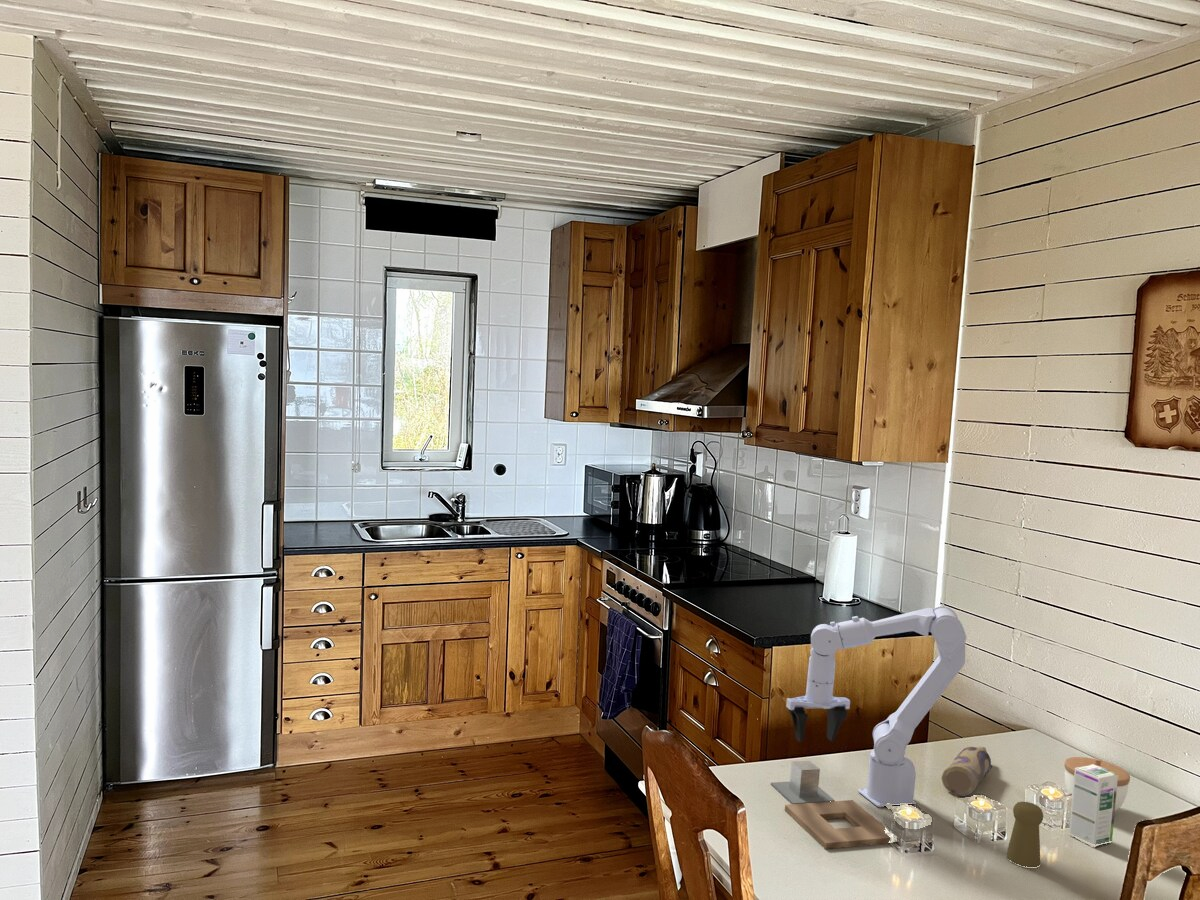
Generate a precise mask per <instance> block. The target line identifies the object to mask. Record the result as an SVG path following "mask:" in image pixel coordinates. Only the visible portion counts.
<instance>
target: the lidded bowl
mask: <svg viewBox="0 0 1200 900" xmlns="http://www.w3.org/2000/svg"><path fill="white" fill-rule="evenodd" d="M1092 764H1093V765H1096V766H1100V767H1102V768H1105V769H1108V770H1110V771H1112V772H1114V773H1116V774H1117V775H1118V780H1117V792H1116V803H1115V811H1117V810H1119V809H1120V808H1121V807H1122V806H1123V804H1124V803H1125V800H1126V799H1127V795H1128V791H1129V785H1130V780H1131V776H1130V774H1129V772H1127V770H1125V769H1124V768H1122V767H1120V766H1118V765H1116V764H1114V763H1111V762H1108V761H1105V760H1101V759H1099V758H1092V757H1085V756H1082V757H1081V756H1074V757H1072V756H1071V757H1069V758H1066V759H1065V761H1064V773H1063V774H1064V777H1063V778H1064V787H1065V791H1066V793H1067V794H1068V793H1072V794H1073V783H1074V772H1075V768H1077V767H1078V768H1079V767H1084V766H1089V765H1092Z"/></svg>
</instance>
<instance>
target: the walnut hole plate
mask: <svg viewBox="0 0 1200 900" xmlns="http://www.w3.org/2000/svg"><path fill="white" fill-rule="evenodd" d="M784 811H785V812H786V813H787V814H788V815H789V816H790V817H791V818H792V819H793V820H794V821H795V822H796V823H797V824H798V825H799V826H800V827H801V828H802V829H804V831H805V832H806V833H808V835H810V836H811V837H812V838H813V839H814V840H815V841H816V842H817V843H818V844H819V845H820V844H821V845H822V846H823V847H824V848H823V847H822V848H823V849H824V850H831V849H830V848H833V849H841V847H845V848H852V847H851V846H856V847H863V846H862V845H867V846H872V845H871V844H879V845H886V844H885V843H888V842H889V840H890V837H889V836H888V835H887V834H885V831H884V830H885V827H886V826H885V825H884V824H883V823H882V822H880V821H879V820H878V819H877V818H876V817H874V816H873V815H871V813H869V812H868V811H867V810H866V809H865V808H863V807H862V806H860V805H859V804H858V803H857V802H856V801H854V799H850V800H849V799H848V800H837V801H836V800H835V801H832V802H817V803H803V804H791V803H790V804H784ZM833 818H840V819H845V820H846V819H847V820H848V821H849V822H850V825H852V826H851V827H850V826H849V827H840V828H839V827H838V828H836V827H834V826H833V825H832V824H831V823H829V822H828V821H827V820H834V819H833ZM825 819H827V820H825ZM847 820H846V821H847ZM848 821H847V822H848ZM849 822H848V823H849ZM860 845H861V846H860Z"/></svg>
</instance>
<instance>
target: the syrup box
mask: <svg viewBox="0 0 1200 900" xmlns="http://www.w3.org/2000/svg"><path fill="white" fill-rule="evenodd" d="M1117 780H1118V775H1117V774H1116V773H1114V772H1112V771H1110V770H1108V769H1105V768H1102V767H1100V766H1096V765H1093V764H1092V765H1089V766H1084V767H1079V768H1078V767H1077V768H1075V772H1074V783H1073V794H1072V800H1071V808H1070V819H1069V830H1068V834H1069V833H1071V834H1073V835H1074V836H1077V837H1079V838H1081V839H1083V840H1085V841H1087V842H1090V843H1092V844H1095V845H1096V844H1101V843H1105V842H1109V841H1112V842H1113V836H1114V835H1113V834H1114V821H1115V813H1116V812H1115V803H1116V792H1117Z"/></svg>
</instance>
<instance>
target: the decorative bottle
mask: <svg viewBox="0 0 1200 900" xmlns="http://www.w3.org/2000/svg"><path fill="white" fill-rule="evenodd" d="M992 768H993V765H992V761H991V756H990V755H989V753H988V751H987V748H986V747H984V746H966V747H964V748H963V749H962V750H961V751H960V752H959V753H958V754H957V756H956V757H955V758H954V760H953V761H951V762H950V764H949V765H948V766H947V767H946V768H945V769H944V770H943V772H942V774H941V782H942V785H943V787H944V788H945V789H946V790H947V791H948V792H949V793H951V794H953V795H955V796H959V795H965V796H968V795H971V794H973V792H975V790H976V788H977V786H978V785H979V783H980V781H982V779H983V778H986V776H987V775H988V773H989V772H990V771H991V770H992Z"/></svg>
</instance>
